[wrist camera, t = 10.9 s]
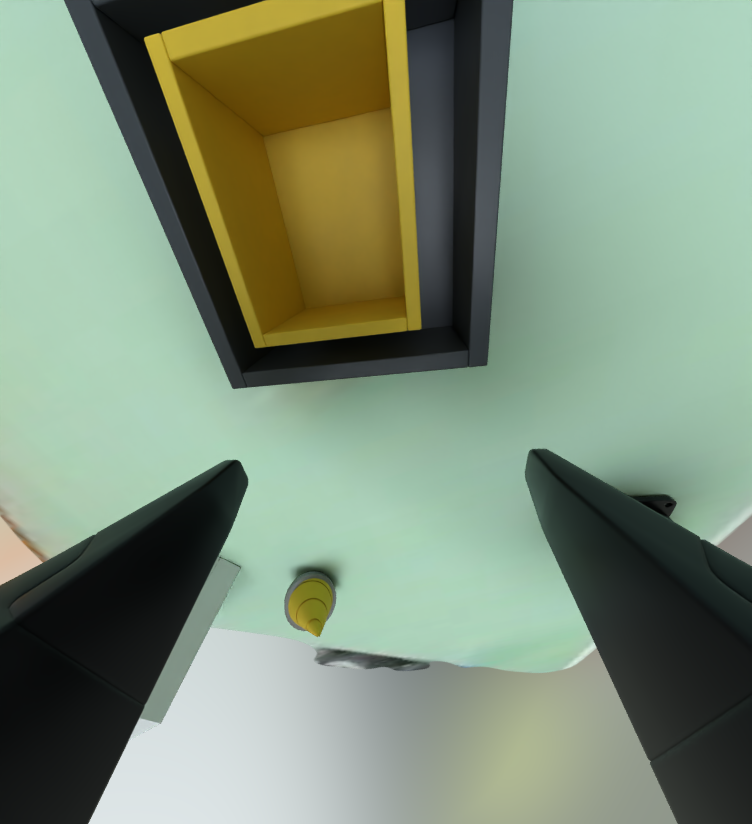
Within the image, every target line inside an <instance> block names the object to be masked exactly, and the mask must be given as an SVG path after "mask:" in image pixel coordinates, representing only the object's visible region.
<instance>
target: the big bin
mask: <svg viewBox="0 0 752 824" xmlns="http://www.w3.org/2000/svg"><path fill="white" fill-rule="evenodd" d="M64 1H65V4H66V6H67V8H68V11H69V13H70V15H71V18H72V20H73V22H74V24H75V27H76V29H77V31H78V34H79V36H80V38H81V41H82V43H83V45H84V47H85V50H86V52H87V54H88V57H89V59H90V61H91V64H92V66H93V68H94V70H95V73H96V75H97V77H98V80H99V82H100V84H101V87H102V89H103V91H104V93H105V96H106V98H107V100H108V103H109V105H110V107H111V110H112V112H113V114H114V116H115V119H116V121H117V123H118V126H119V128H120V130H121V133H122V135H123V137H124V140H125V142H126V144H127V146H128V149H129V151H130V153H131V156H132V158H133V160H134V163H135V165H136V167H137V169H138V172H139V174H140V176H141V179H142V181H143V183H144V186H145V188H146V190H147V192H148V195H149V197H150V199H151V202H152V204H153V206H154V209H155V211H156V213H157V215H158V218H159V220H160V222H161V225H162V227H163V229H164V232H165V234H166V236H167V238H168V241H169V243H170V245H171V248H172V250H173V252H174V255H175V257H176V259H177V261H178V264H179V266H180V268H181V271H182V273H183V275H184V278H185V280H186V282H187V285H188V287H189V289H190V291H191V294H192V296H193V298H194V301H195V303H196V305H197V308H198V310H199V312H200V314H201V317H202V319H203V321H204V324H205V326H206V328H207V331H208V333H209V335H210V337H211V340H212V342H213V344H214V347H215V349H216V351H217V354H218V356H219V358H220V360H221V363H222V365H223V367H224V370H225V372H226V374H227V377H228V379H229V381H230V383H231V386H232V388H233V389H237V388H247V387H259V386H270V385H281V384H291V383H302V382H313V381H324V380H335V379H346V378H357V377H367V376H378V375H389V374H400V373H411V372H422V371H432V370H443V369H454V368H465V367H468V366H469V367H476V366H486V365H487V362H488V348H489V334H490V320H491V306H492V292H493V278H494V264H495V250H496V236H497V222H498V208H499V194H500V180H501V166H502V152H503V138H504V124H505V110H506V96H507V82H508V68H509V54H510V40H511V26H512V12H513V0H405V12H406V32H407V52H408V72H409V91H410V111H411V131H412V150H413V170H414V190H415V210H416V229H417V249H418V269H419V288H420V308H421V329H420V330H411V331H409V330H408V329H407V331H402V332H394V333H385V334H376V335H367V336H358V337H350V338H341V339H332V340H323V341H314V342H306V343H297V344H288V345H279V346H270V347H268V346H267V347H262V348H255V346H254V344H253V341H252V338H251V335H250V332H249V330H248V327H247V324H246V321H245V319H244V316H243V313H242V310H241V307H240V305H239V302H238V299H237V296H236V294H235V291H234V288H233V285H232V282H231V280H230V277H229V274H228V271H227V269H226V266H225V263H224V260H223V258H222V255H221V252H220V249H219V246H218V244H217V241H216V238H215V235H214V233H213V230H212V227H211V224H210V221H209V219H208V216H207V213H206V210H205V208H204V205H203V202H202V199H201V196H200V194H199V191H198V188H197V185H196V183H195V180H194V177H193V174H192V172H191V169H190V166H189V163H188V160H187V158H186V155H185V152H184V149H183V147H182V144H181V141H180V138H179V135H178V133H177V130H176V127H175V124H174V122H173V119H172V116H171V113H170V110H169V108H168V105H167V102H166V99H165V97H164V94H163V91H162V88H161V86H160V83H159V80H158V77H157V74H156V72H155V69H154V66H153V63H152V61H151V58H150V55H149V52H148V49H147V47H146V44H145V41H144V38H145V37H147V36H150V35H154V34H157V33H160V34H161V33H162V32H163V31H166V30H170V29H173V28H176V27H180V26H183V25H186V24H190V23H193V22H196V21H199V20H203V19H206V18H209V17H213V16H216V15H219V14H222V13H226V12H229V11H232V10H236V9H239V8H242V7H245V6H249V5H252V4H255V3H259V2H262V1H265V0H64Z"/></svg>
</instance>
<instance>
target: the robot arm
mask: <svg viewBox="0 0 752 824" xmlns="http://www.w3.org/2000/svg"><path fill="white" fill-rule="evenodd" d="M525 478H526V482H527V485H528V488H529V491H530V494H531V497H532V500H533V503H534V506H535V509H536V512H537V515H538V518H539V521H540V524H541V527H542V529H543V532H544V534H545V536H546V539H547V541H548V543H549V545H550V547H551V549H552V552H553V554H554V556H555V558H556V560H557V562H558V565H559V567H560V569H561V571H562V573H563V575H564V578H565V580H566V582H567V584H568V586H569V588H570V591H571V593H572V595H573V597H574V599H575V601H576V604H577V606H578V608H579V610H580V612H581V614H582V617H583V619H584V621H585V623H586V625H587V627H588V630H589V632H590V634H591V636H592V638H593V640H594V643H595V645H596V647H597V649H598V651H599V653H600V656H601V658H602V660H603V662H604V664H605V666H606V668H607V671H608V673H609V675H610V677H611V679H612V682H613V684H614V686H615V688H616V690H617V692H618V695H619V697H620V699H621V701H622V703H623V705H624V708H625V710H626V712H627V714H628V716H629V718H630V721H631V723H632V725H633V727H634V729H635V732H636V734H637V736H638V738H639V740H640V742H641V745H642V747H643V749H644V751H645V753H646V755H647V758H648V759H649V760H650V761H651V762H650V765H651V767H652V769H653V771H654V773H655V776H656V778H657V780H658V782H659V784H660V786H661V789H662V791H663V793H664V795H665V797H666V799H667V801H668V804H669V806H670V808H671V810H672V812H673V814H674V817H675V819H676V821H677V823H678V824H752V566H750V565H748V564H747V563H745V562H743V561H741V560H739V559H737V558H736V557H734V556H732V555H730V554H729V553H727V552H725V551H723V550H722V549H720V548H718V547H717V546H715V545H713V544H711V543H710V542H708V541H706V540H701V539H700V537H699V536H697V535H695V534H694V533H692V532H690V531H689V530H687V529H685V528H683V527H682V526H680V525H678V524H676V523H675V522H673V521H672V520H671V519H670V518H669V516H670V515H671V513H672V511H673V510H674V508H675V506H676V504H677V503H676V501H675V500H674V499H673V498H671V497H669V496H658V497H629V496H628V495H626V494H624V493H622V492H621V491H619V490H617V489H615V488H614V487H612V486H610V485H608V484H607V483H605V482H603V481H602V480H600V479H598V478H596V477H595V476H593V475H591V474H589V473H588V472H586V471H584V470H582V469H581V468H579V467H577V466H575V465H574V464H572V463H570V462H568V461H567V460H565V459H563V458H562V457H560V456H558V455H556V454H555V453H553V452H551V451H549V450H547V449H532V450H530V451H529V453H528V458H527V464H526V469H525ZM247 486H248V477H247V475H246V473H245V471H244V469H243V466H242V464H241V462H240V461H238V460H225V461H223V462H221V463H220V464H218V465H216V466H214V467H213V468H211V469H209V470H207V471H205V472H204V473H202V474H200V475H198V476H197V477H195V478H193V479H191V480H190V481H188V482H186V483H184V484H183V485H181V486H179V487H177V488H175V489H174V490H172V491H170V492H168V493H167V494H165V495H163V496H161V497H160V498H158V499H156V500H154V501H153V502H151V503H149V504H147V505H145V506H144V507H142V508H140V509H138V510H137V511H135V512H133V513H131V514H130V515H128V516H126V517H124V518H122V519H121V520H119V521H117V522H115V523H114V524H112V525H110V526H108V527H107V528H105V529H103V530H101V531H100V532H98V533H97V534H96V535H92V536H91V537H89V538H87V539H85V540H84V541H82V542H80V543H78V544H76V545H75V546H73V547H71V548H69V549H67V550H66V551H64V552H62V553H60V554H58V555H57V556H55V557H53V558H51V559H49V560H48V561H46V562H44V563H42V564H40V565H38V566H36V567H34V568H32V569H31V570H29V571H27V572H25V573H23V574H22V575H19V576H18V577H16V578H14V579H12V580H10V581H8V582H6V583H4V584H2V585H0V824H88V823H89V821H90V819H91V817H92V815H93V813H94V811H95V809H96V807H97V805H98V802H99V801H100V798H101V796H102V794H103V792H104V790H105V788H106V786H107V784H108V782H109V780H110V778H111V776H112V774H113V772H114V770H115V768H116V765H117V763H118V761H119V759H120V757H121V755H122V753H123V751H124V749H125V747H126V745H127V743H128V741H129V739H130V737H131V735H132V733H133V731H134V729H135V726H136V724H137V722H138V720H139V718H140V716H141V714H142V712H143V710H144V708H145V704H146V703H147V701H148V699H149V697H150V695H151V693H152V691H153V689H154V687H155V685H156V683H157V681H158V679H159V677H160V675H161V673H162V671H163V668H164V666H165V664H166V662H167V660H168V658H169V656H170V654H171V652H172V650H173V648H174V646H175V644H176V642H177V640H178V638H179V636H180V634H181V631H182V629H183V627H184V625H185V623H186V621H187V619H188V617H189V615H190V613H191V611H192V609H193V607H194V605H195V603H196V601H197V599H198V597H199V595H200V592H201V590H202V588H203V586H204V584H205V582H206V580H207V578H208V576H209V574H210V572H211V570H212V568H213V566H214V564H215V562H216V560H217V558H218V556H219V553H220V551H221V549H222V547H223V545H224V543H225V541H226V539H227V537H228V535H229V533H230V531H231V528H232V526H233V523H234V521H235V518H236V516H237V513H238V510H239V508H240V505H241V502H242V500H243V497H244V494H245V492H246V489H247Z"/></svg>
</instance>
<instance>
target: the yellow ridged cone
mask: <svg viewBox="0 0 752 824" xmlns="http://www.w3.org/2000/svg"><path fill="white" fill-rule="evenodd" d="M335 604H336V592H335V588H334V586H333V583H332V581H331V580H330V578H329V577H328V576H327V575H325V574H323V573H321V572H317V571H311V572H307V573H304V574H302V575H300V576H299V577H297V578H296V579H295V580H294V581H293V582H292V584H291V585H290V587H289V588H288V590H287V593H286V596H285V615H286V618H287V620H288V622H289V623H290V624H291V625H292V626H293V627H294V628H296V629H298V630H302V631H308V632H310V633H312V634H313V635H315V636H316V637H318V636H319V637H320V635H321V632H322V630H323V627H324V625H325V622H326V621H327V620H328V619H329V617H330V616H331V614H332V612H333V610H334V607H335Z"/></svg>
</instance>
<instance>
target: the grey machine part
mask: <svg viewBox="0 0 752 824" xmlns="http://www.w3.org/2000/svg"><path fill="white" fill-rule="evenodd" d="M239 570H240V567H238V566H236V565H234V564H232V563H230V562H228V561H226V560H224V559H222V558H220V557H218V558H217V560H216V562H215V564H214V566H213V568H212V570H211V572H210V574H209V576H208V578H207V580H206V582H205V584H204V586H203V588H202V590H201V592H200V595H199V597H198V599H197V601H196V603H195V605H194V607H193V609H192V611H191V613H190V615H189V617H188V619H187V621H186V623H185V625H184V627H183V629H182V631H181V634H180V636H179V638H178V640H177V642H176V644H175V646H174V648H173V650H172V652H171V654H170V656H169V658H168V660H167V662H166V664H165V666H164V668H163V671H162V673H161V675H160V677H159V679H158V681H157V683H156V685H155V687H154V689H153V691H152V693H151V695H150V697H149V699H148V701H147V703H146V704H145V708H144V710H143V712H142V714H141V716H140V718H139V720H138V722H137V724H136V726H135V729H134V731H133V733H132V735H131V737H130V739H129V740H131V739H133V738H135V737H137V736H138V735H140V734H142V733H144V732H145V731H148V730H150V729H152V728H153V727H155V726H157V725H159V724H161V722H162V720H163V718H164V716H165V715H166V713H167V711H168V708H169V706H170V705H171V702H172V701H173V699H174V697H175V695H176V693H177V691H178V689H179V687H180V685H181V683H182V681H183V679H184V677H185V675H186V673H187V672H188V669H189V668H190V666H191V664H192V662H193V660H194V658H195V656H196V654H197V652H198V650H199V648H200V646H201V644H202V642H203V640H204V638H205V636H206V634H207V633H208V631H209V629H210V627H211V625H212V623H213V621H214V619H215V617H216V615H217V613H218V611H219V609H220V607H221V605H222V603H223V601H224V599H225V597H226V595H227V594H228V592H229V590H230V588H231V586H232V584H233V582H234V580H235V578H236V576H237V574H238V572H239Z"/></svg>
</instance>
